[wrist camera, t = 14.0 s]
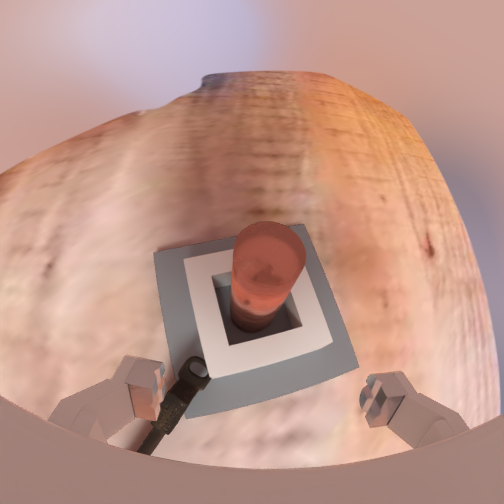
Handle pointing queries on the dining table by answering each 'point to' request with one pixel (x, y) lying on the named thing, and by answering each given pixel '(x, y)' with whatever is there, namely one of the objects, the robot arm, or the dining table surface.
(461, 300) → the dining table surface
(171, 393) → the black hooked rod
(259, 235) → the pin
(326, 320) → the socket board
